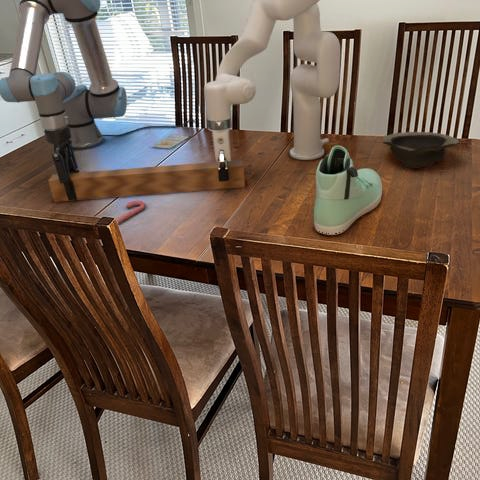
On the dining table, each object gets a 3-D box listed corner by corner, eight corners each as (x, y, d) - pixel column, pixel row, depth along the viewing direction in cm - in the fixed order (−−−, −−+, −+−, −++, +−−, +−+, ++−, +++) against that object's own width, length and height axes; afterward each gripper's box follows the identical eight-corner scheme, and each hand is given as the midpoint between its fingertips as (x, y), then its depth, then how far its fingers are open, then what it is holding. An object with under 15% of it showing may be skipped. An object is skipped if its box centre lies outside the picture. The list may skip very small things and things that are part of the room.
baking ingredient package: (151, 145, 194) (171, 134, 205) (151, 146, 194) (172, 135, 206) (169, 147, 190) (189, 136, 202) (170, 149, 191) (189, 137, 202)
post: (54, 202, 157) (48, 180, 153) (58, 195, 161) (52, 174, 157) (245, 187, 156) (243, 165, 152) (244, 181, 160) (242, 159, 156)
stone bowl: (418, 179, 151) (419, 150, 147) (365, 160, 172) (365, 135, 167) (473, 159, 160) (476, 132, 156) (417, 144, 180) (418, 120, 176)
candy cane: (99, 223, 142) (98, 218, 141) (136, 202, 152) (135, 198, 151) (113, 227, 139) (112, 223, 138) (149, 206, 149) (149, 202, 148)
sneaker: (389, 187, 148) (396, 123, 138) (356, 242, 123) (361, 168, 112) (346, 181, 154) (350, 119, 144) (306, 232, 129) (307, 161, 118)
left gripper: (60, 136, 139) (79, 207, 151) (76, 117, 154) (92, 183, 166) (34, 138, 139) (55, 209, 151) (52, 119, 154) (71, 185, 166)
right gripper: (232, 131, 140) (236, 185, 149) (231, 114, 155) (234, 164, 164) (206, 133, 140) (212, 186, 149) (208, 116, 155) (212, 165, 164)
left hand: (75, 195), depth 158 cm, fingers closed on post, 5 cm apart
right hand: (223, 174), depth 156 cm, fingers open, 9 cm apart
